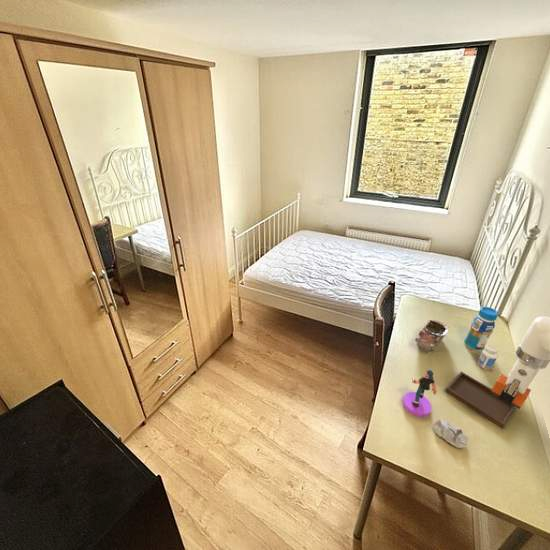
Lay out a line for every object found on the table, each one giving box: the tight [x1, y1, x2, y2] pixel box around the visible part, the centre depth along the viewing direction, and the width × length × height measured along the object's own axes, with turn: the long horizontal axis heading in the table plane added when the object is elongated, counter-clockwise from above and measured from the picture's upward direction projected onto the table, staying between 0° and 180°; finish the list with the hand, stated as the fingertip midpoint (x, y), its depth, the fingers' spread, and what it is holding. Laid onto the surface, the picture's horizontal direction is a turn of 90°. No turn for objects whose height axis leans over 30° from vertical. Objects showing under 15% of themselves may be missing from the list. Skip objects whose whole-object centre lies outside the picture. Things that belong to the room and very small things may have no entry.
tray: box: [444, 371, 516, 429], centre depth 111 cm, size 20×14×2 cm
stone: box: [433, 419, 468, 449], centre depth 98 cm, size 10×7×3 cm
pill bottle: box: [476, 344, 499, 371], centre depth 124 cm, size 6×5×10 cm
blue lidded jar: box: [463, 306, 499, 352], centre depth 133 cm, size 8×8×20 cm
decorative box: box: [414, 318, 450, 352], centre depth 134 cm, size 13×20×10 cm, turn 128°
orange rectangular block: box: [490, 374, 532, 410], centre depth 93 cm, size 8×4×6 cm, turn 40°
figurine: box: [402, 369, 438, 418], centre depth 104 cm, size 9×9×18 cm
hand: (507, 396), depth 94 cm, fingers closed on orange rectangular block, 4 cm apart
